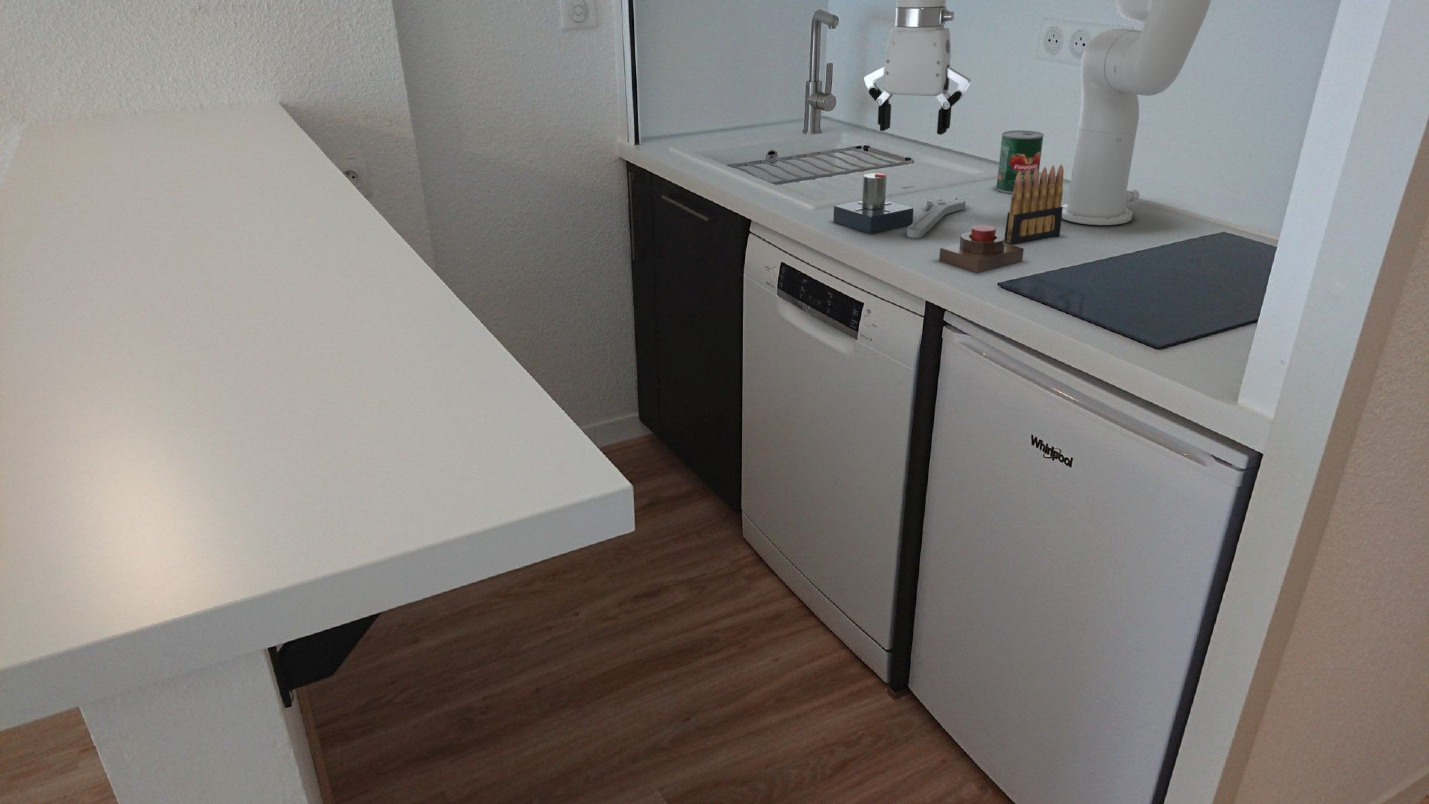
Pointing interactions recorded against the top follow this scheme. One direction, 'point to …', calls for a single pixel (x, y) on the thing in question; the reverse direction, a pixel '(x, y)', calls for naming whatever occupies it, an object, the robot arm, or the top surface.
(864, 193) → the silver upright cylinder
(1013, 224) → the ammunition clip
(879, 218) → the block
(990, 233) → the release button
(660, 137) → the top surface
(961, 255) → the block
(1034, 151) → the canned tomato
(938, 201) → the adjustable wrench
